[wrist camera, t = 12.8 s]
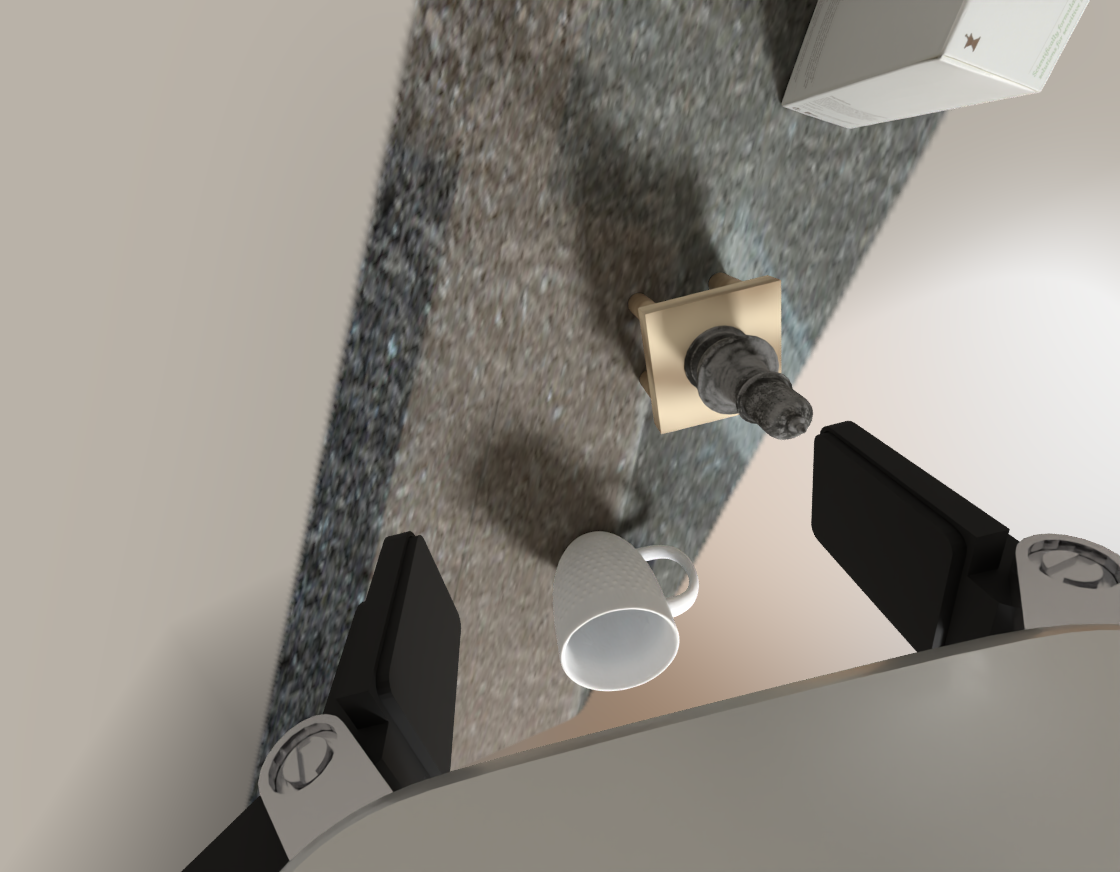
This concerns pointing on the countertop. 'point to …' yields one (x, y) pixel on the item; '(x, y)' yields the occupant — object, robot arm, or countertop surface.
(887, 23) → the skincare box
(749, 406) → the salt shaker
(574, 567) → the mug
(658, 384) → the stool
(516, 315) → the countertop surface
